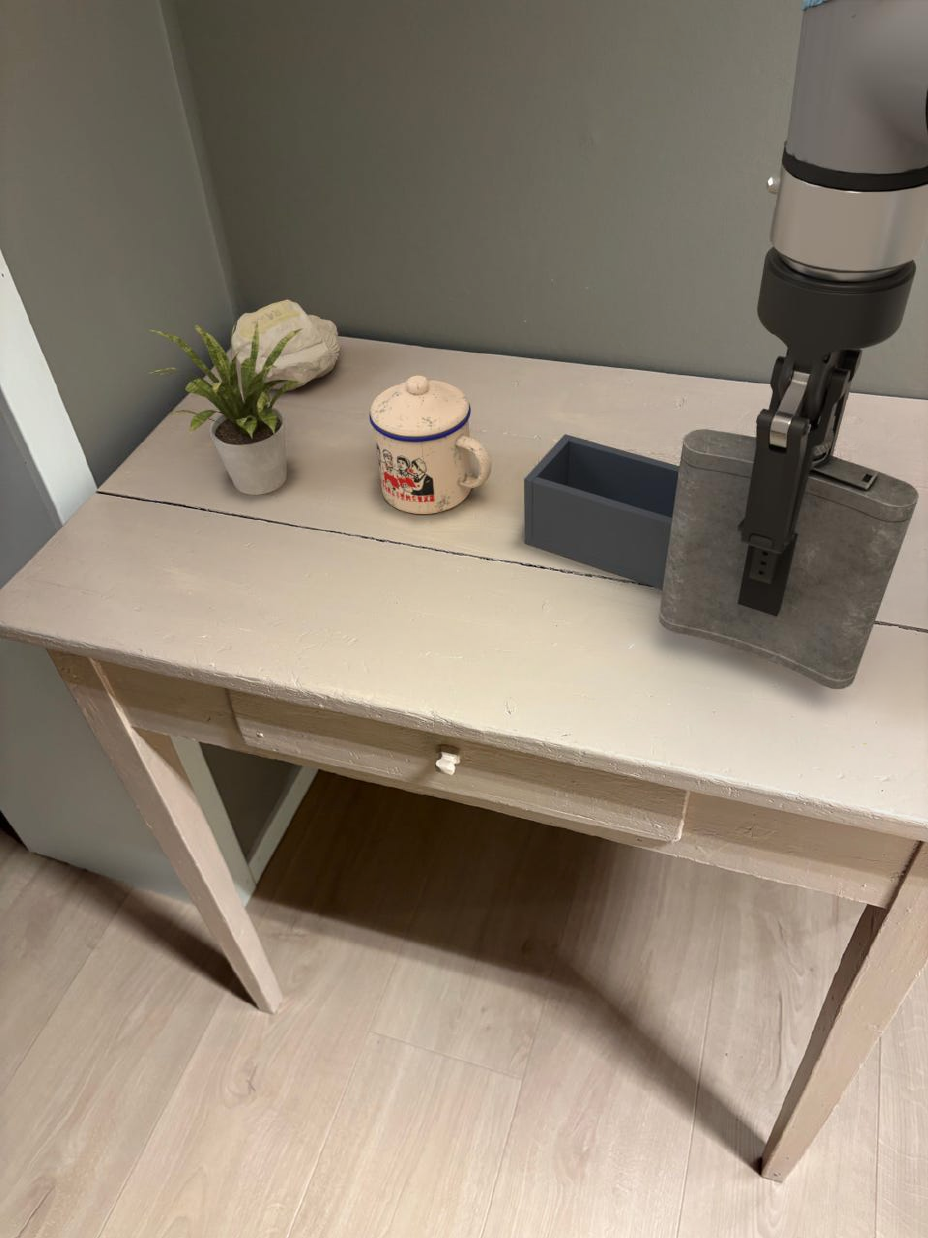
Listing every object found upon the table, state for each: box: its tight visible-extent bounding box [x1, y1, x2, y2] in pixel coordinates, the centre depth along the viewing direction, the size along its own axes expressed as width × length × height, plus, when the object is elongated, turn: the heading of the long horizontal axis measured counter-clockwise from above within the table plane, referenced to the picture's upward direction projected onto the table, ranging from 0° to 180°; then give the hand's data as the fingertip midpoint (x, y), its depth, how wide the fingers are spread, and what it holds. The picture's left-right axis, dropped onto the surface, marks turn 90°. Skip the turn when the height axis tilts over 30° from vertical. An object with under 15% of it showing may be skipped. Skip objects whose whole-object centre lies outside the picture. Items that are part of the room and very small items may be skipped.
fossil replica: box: [232, 299, 341, 391], centre depth 105 cm, size 12×8×10 cm
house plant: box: [148, 320, 304, 496], centre depth 88 cm, size 14×14×16 cm
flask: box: [658, 423, 920, 690], centre depth 63 cm, size 4×14×18 cm, turn 59°
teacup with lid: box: [369, 375, 492, 515], centre depth 87 cm, size 12×9×12 cm
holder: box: [523, 433, 680, 591], centre depth 81 cm, size 18×8×7 cm, turn 59°
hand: (769, 587), depth 66 cm, fingers closed on flask, 3 cm apart
